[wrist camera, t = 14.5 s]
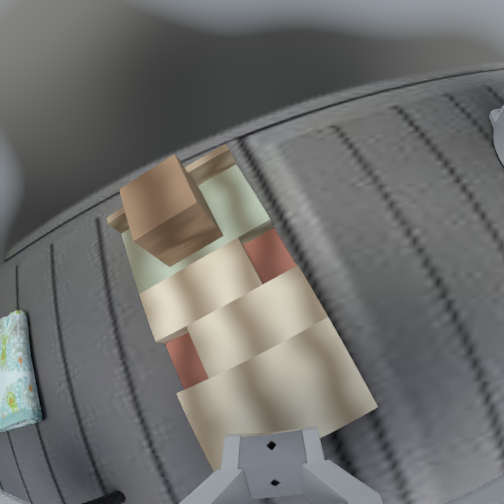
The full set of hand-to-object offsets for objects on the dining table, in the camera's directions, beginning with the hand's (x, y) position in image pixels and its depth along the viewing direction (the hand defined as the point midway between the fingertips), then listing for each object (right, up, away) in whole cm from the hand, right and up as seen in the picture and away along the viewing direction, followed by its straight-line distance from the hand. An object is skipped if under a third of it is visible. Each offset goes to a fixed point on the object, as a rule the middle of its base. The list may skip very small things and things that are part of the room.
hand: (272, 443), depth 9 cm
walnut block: (-8, +9, +27) cm, 30 cm away
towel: (-43, -16, +30) cm, 54 cm away
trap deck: (-3, 0, +25) cm, 25 cm away
